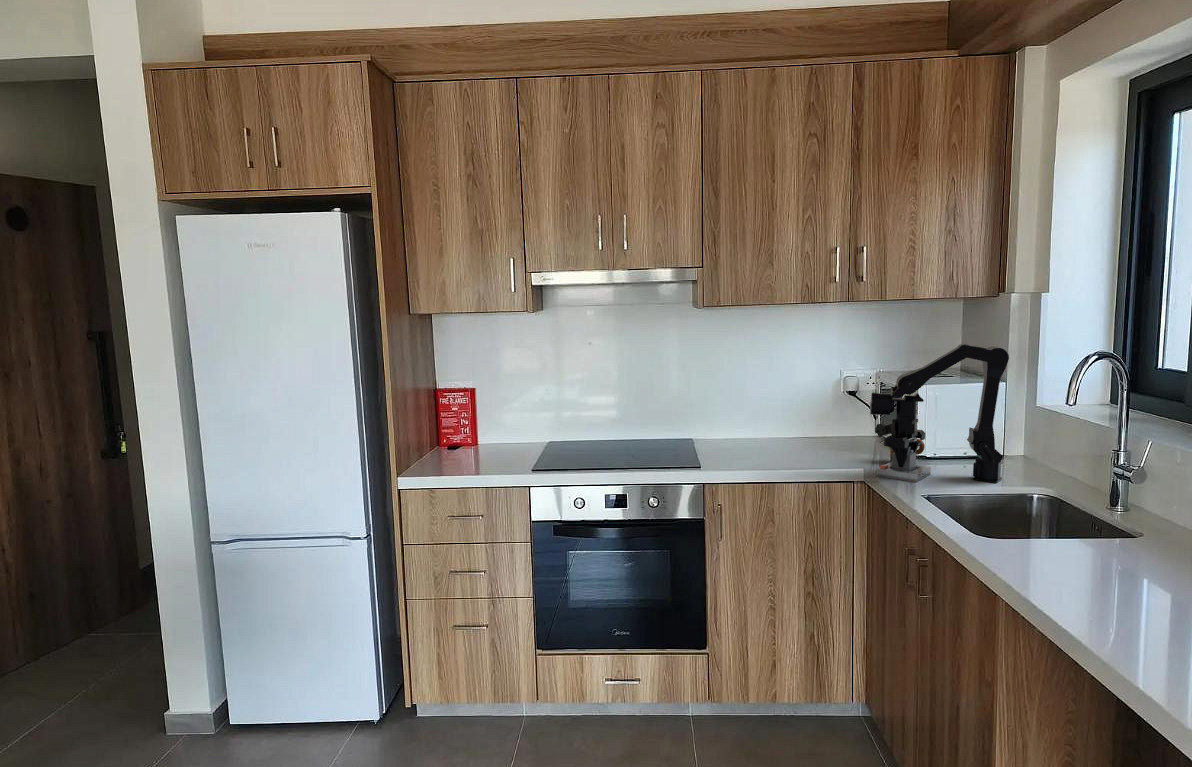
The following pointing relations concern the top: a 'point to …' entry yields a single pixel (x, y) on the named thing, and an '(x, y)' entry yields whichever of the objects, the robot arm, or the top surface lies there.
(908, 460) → the plug
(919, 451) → the mug
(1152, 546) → the top surface
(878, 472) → the socket plate
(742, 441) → the top surface
